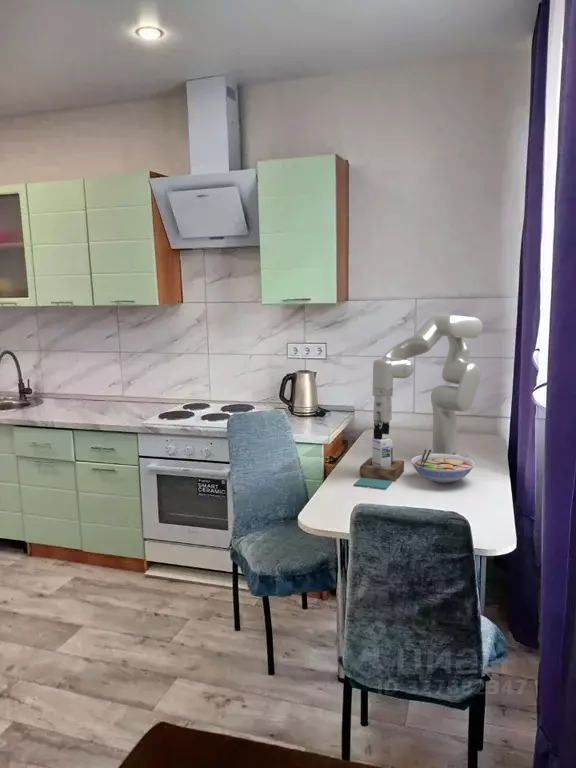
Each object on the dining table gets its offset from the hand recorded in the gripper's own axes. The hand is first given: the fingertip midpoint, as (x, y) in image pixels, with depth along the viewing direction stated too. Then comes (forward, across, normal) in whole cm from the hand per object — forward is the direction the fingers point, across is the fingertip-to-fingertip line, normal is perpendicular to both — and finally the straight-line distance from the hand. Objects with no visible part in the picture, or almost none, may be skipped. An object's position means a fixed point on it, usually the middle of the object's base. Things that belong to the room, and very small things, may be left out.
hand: (381, 436), depth 229 cm
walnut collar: (+15, +1, 0) cm, 15 cm away
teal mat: (+16, -12, 0) cm, 19 cm away
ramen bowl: (+15, +2, -23) cm, 28 cm away
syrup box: (+15, +1, 0) cm, 15 cm away
